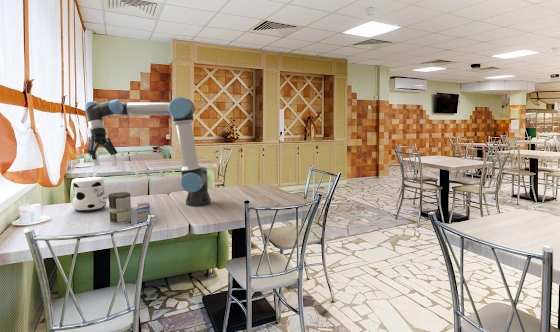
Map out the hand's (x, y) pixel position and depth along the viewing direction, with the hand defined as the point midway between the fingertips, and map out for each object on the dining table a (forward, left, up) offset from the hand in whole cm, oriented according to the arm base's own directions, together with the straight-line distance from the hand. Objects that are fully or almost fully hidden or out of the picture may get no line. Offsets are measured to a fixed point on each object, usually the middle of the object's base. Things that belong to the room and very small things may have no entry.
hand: (106, 165), depth 191 cm
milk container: (+14, -7, -27) cm, 31 cm away
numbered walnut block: (-23, +10, -27) cm, 37 cm away
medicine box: (-26, +23, -27) cm, 44 cm away
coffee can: (-14, +18, -27) cm, 35 cm away
